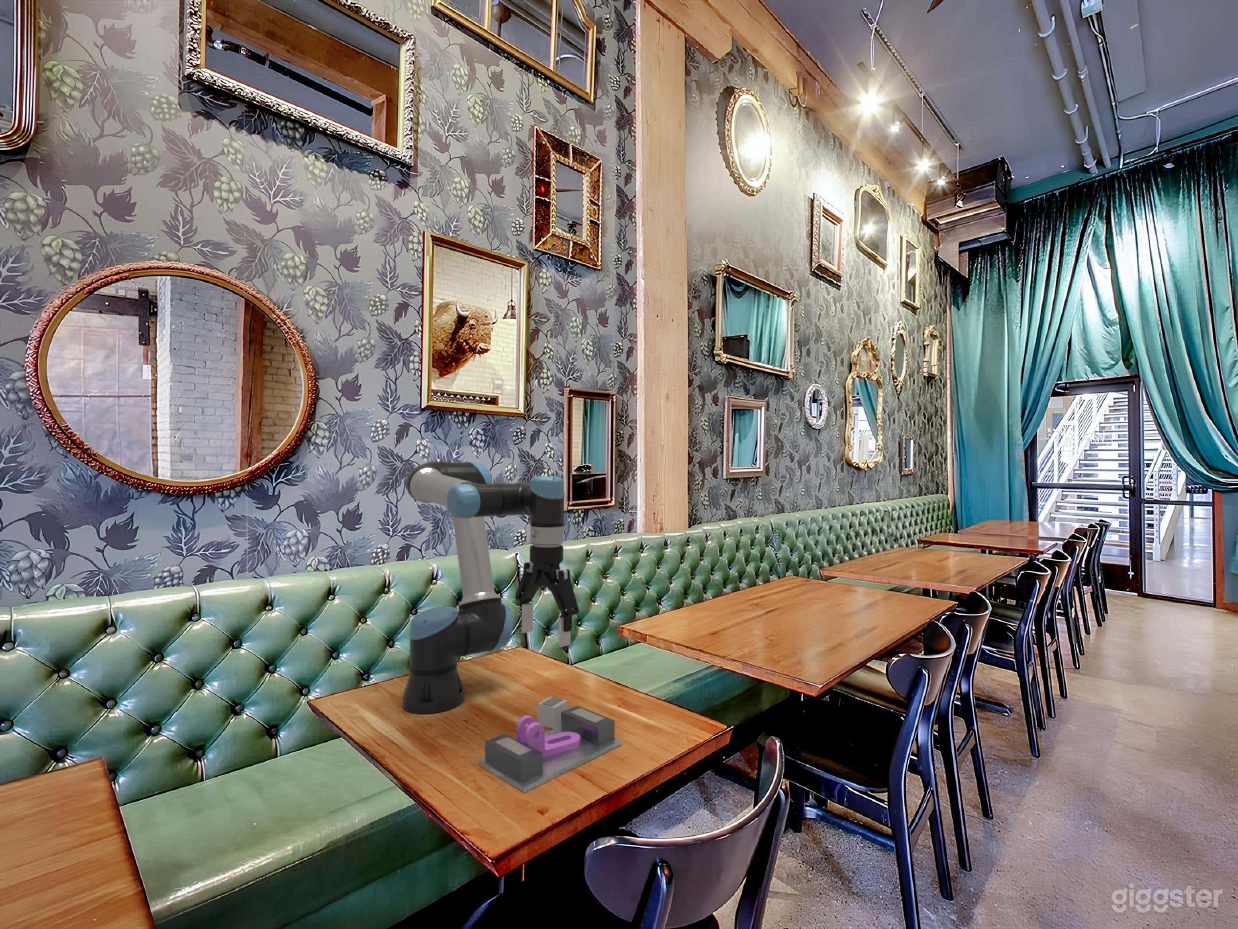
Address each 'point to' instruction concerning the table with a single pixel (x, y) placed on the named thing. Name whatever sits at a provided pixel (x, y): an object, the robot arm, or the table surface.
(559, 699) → the block
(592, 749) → the rail board
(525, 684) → the table surface
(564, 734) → the bracket
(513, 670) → the table surface
